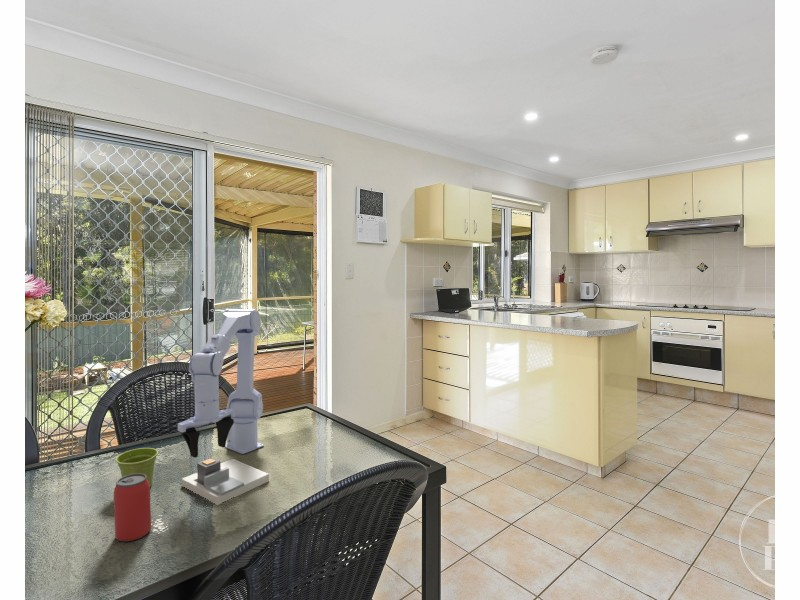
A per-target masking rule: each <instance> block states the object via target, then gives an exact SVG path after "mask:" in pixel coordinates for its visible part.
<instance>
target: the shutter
mask: <svg viewBox="0 0 800 600" xmlns="http://www.w3.org/2000/svg"><path fill="white" fill-rule="evenodd" d="M242 486H244V483H243V482H241V481H238V480H236V479H234V478H232V477H230V476H229V468H227V467H226V468H224V469H221V470H219V471H216V472H214V473H211V474H209V475H206V476H204V487H205V488H207V489H209V490H211V491H212V492H214V493H216V494H218V495H220V496H222V495H225V494H227V493H229V492H231V491H233V490H236V489H238V488H240V487H242Z"/></svg>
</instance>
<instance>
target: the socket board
mask: <svg viewBox="0 0 800 600" xmlns="http://www.w3.org/2000/svg"><path fill="white" fill-rule="evenodd" d="M220 466H221V469H224V468H226V467H227V468H229V476H230V477H232V478H234V479H236V480H238V481H241V482H243V483H244V486H242V487H240V488H238V489H236V490H233V491H231V492H229V493H227V494H225V495H222V496H220V495H218V494H216V493H214V492H212V491H211V490H209V489H207V488H205V487H204V486H203V485H202V484H200V483H198V474H197V472H195V473H192V474H190V475H188V476H185V477H182V478H181V487H182V488H184V487H185V489H186V488H187V490H188V489H189V491H190V490H191V491H190V492H192V491H193V492H192V493H194V494H195V493H196V495H197V494H199V495H200V496H199V495H198V496H199V497H201V496H202V497H201V498H203V497H204V498H203V499H205V498H206V499H205V500H207V499H208V500H209V501H208V500H207V501H208V502H210V501H211V502H210V503H212V502H213V503H212V504H214V503H215V504H214V505H215V506H216V505H217V506H219V505H221V504H223V503H222V502H224V501H226V500H228V501H230V500H232V499H234V498H236V497H238V496H240V495H242V494H245V493H247V492H249V491H251V490H253V489H256V488H258V487H259V486H262V485H264V484H266V483H268V482H269V481H270V474H269V473H268V472H265V471H262V470H260V469H258V468H255V467H253V466H251V465H249V464H246V463H243V462H241V461H239V460H237V459H235V458H232V459H229V460H226V461H224V462H220ZM233 497H234V498H233ZM231 498H232V499H231ZM229 499H230V500H229ZM226 502H227V501H226ZM220 503H221V504H220ZM224 503H225V502H224ZM218 504H219V505H218Z"/></svg>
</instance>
